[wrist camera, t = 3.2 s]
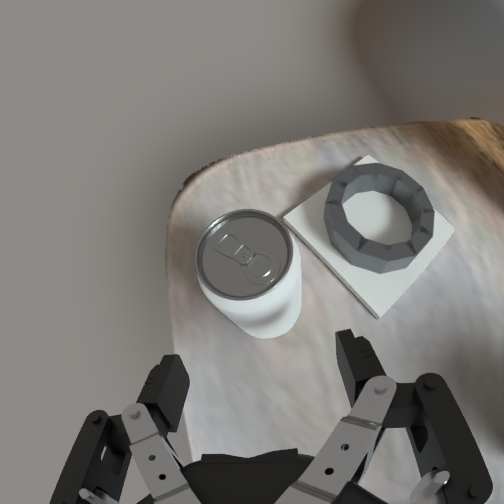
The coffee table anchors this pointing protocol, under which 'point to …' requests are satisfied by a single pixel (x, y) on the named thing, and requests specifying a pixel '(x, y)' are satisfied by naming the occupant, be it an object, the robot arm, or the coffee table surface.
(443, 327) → the coffee table surface
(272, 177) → the coffee table surface
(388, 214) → the socket plate
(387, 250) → the collar
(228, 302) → the can
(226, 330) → the coffee table surface
